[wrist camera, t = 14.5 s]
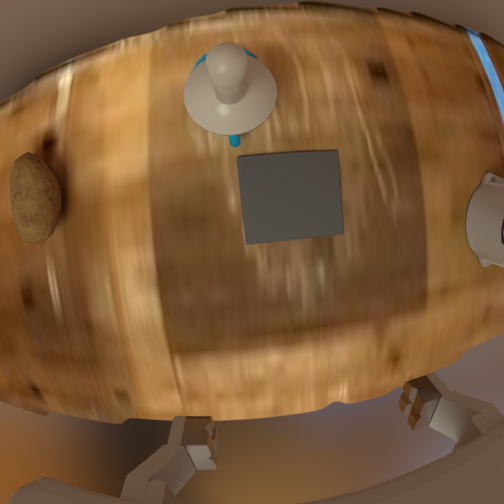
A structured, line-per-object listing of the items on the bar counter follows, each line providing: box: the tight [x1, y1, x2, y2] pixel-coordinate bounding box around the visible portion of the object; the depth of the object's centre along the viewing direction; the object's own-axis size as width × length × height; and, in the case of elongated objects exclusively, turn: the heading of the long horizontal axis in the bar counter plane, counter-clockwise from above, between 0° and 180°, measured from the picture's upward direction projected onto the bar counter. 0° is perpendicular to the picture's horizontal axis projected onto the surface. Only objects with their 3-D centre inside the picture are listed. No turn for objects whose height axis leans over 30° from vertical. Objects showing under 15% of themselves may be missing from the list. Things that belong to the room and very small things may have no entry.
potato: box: [10, 152, 61, 243], centre depth 33 cm, size 10×14×8 cm
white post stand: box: [184, 43, 277, 136], centre depth 23 cm, size 10×10×10 cm
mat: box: [237, 151, 343, 245], centre depth 38 cm, size 14×12×1 cm
